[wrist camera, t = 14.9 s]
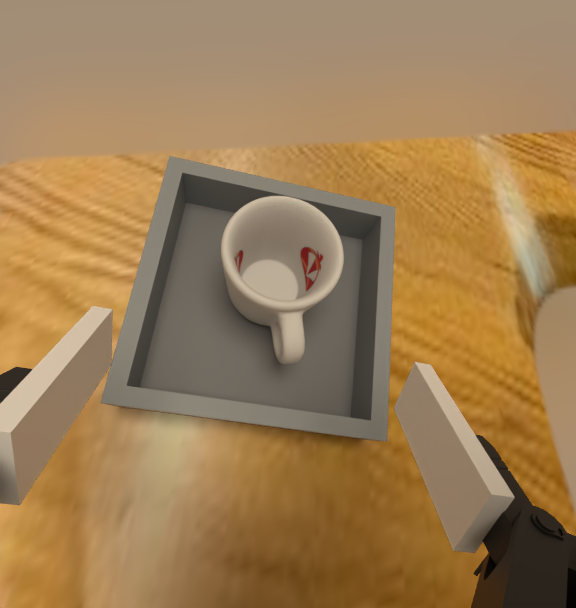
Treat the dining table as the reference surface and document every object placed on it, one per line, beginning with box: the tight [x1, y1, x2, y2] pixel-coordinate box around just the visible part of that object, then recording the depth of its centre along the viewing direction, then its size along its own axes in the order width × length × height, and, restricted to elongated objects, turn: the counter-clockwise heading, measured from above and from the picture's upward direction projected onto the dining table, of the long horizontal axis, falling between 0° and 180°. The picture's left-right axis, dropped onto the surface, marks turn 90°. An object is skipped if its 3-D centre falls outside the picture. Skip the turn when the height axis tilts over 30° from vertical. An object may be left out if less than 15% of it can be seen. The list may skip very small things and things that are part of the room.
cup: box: [221, 196, 344, 364], centre depth 27 cm, size 11×8×8 cm
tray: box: [101, 156, 396, 441], centre depth 29 cm, size 18×18×4 cm
